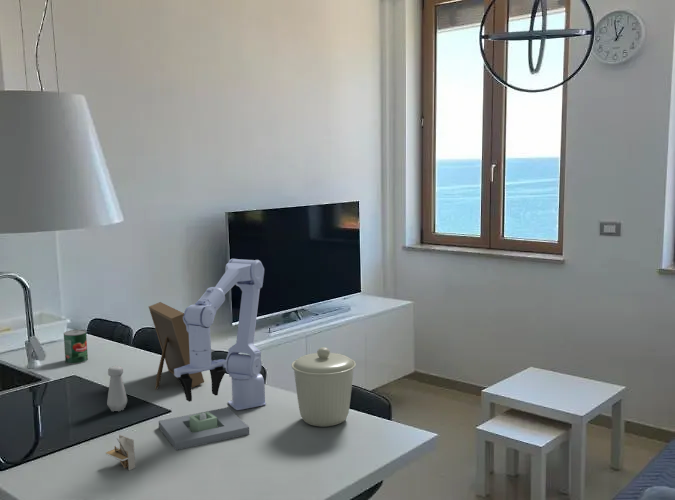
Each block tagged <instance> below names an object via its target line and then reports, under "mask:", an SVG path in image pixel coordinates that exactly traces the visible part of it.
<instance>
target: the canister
mask: <svg viewBox="0 0 675 500" xmlns="http://www.w3.org/2000/svg"><path fill="white" fill-rule="evenodd" d="M330 351H331V350H330V349H329V348H328V347H323V346H322V347H319V348H318V349H317V352H315V353H314V352H313V353H308V354H305V355H302V356H300V357H298V358H297V359H295V360H294V361H292V362H291V369H292V370H293V373H294V382H295V388H296V396H297V403H298V409H299V414H300V417H301V418H302V420H303V421H304V422H305V423H306V424H308V425H309V426H310V425H311V426H315V427H333V426H334V427H335V426H337V425H340V424H342V423H344V422H345V421H346V420H347V417H348V416H349V412H350V405H351V398H352V389H353V378H354V377H353V376H354V369H355V368H356V365H357V363H356V361H355V360H354V359H352V358H350V357H349V356H347V355H344V354H342V353H337V352H330Z"/></svg>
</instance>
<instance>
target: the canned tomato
mask: <svg viewBox="0 0 675 500" xmlns="http://www.w3.org/2000/svg"><path fill="white" fill-rule="evenodd" d="M87 341H88V339H87V331H86V330H85V329H71V330H67V331H64V332H63V342H64V343H63V344H64V345H63V346H64V359H65V364H67V365H78V364H83V363H86V362H88V360H89V358H88V342H87Z"/></svg>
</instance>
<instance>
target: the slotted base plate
mask: <svg viewBox="0 0 675 500" xmlns="http://www.w3.org/2000/svg"><path fill="white" fill-rule="evenodd" d="M204 412H210V413H211V414H213V415H214V416H215V417H217V428H213V429H208V430H204V431H199V432H194V433H193V432H192V431H190V420H189V416H192V415H196V414H200V413H202V414H200V420H204V419H206V414H205V413H204ZM158 428H159V430H160V431H161V433H162V434H163V436H164V437H165V438H166V439H167V440H168V442H169V443H170V444H171V445H172V447H173V448H174V450H176V451H179V450H184V449H188V448H193V447H196V446H201V445H206V444H207V445H208V444H211V443H215V442H219V441H223V440H228V439H233V438H238V437H242V436H248V435H250V426H249V425H248V424H246V423H245V422H244V421H243V420H242V419H241V418H240V417H239V416H238V415H236V414H235V412H233V411H232V410H231V409H230V408H229V407H223V408H218V409H211V410H207V411H202V412H198V413H193V414H187V415H181V416H176V417H172V418H165V419H161V420H158ZM183 448H184V449H183ZM178 449H179V450H178Z"/></svg>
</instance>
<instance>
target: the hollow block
mask: <svg viewBox="0 0 675 500" xmlns="http://www.w3.org/2000/svg"><path fill="white" fill-rule="evenodd" d="M203 412H204V413H205V414H206V419H204V420H200V414H202V413H201V412H199V413H200V414H196V413H195V414H196V415H192V416H189V420H190V427H189V430H190V431H191V432H192V433H194V432H199V431H204V430H208V429H213V428H218V426H217V417H215V416H214V415H213V414H211V413H210V412H206V411H203Z"/></svg>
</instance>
